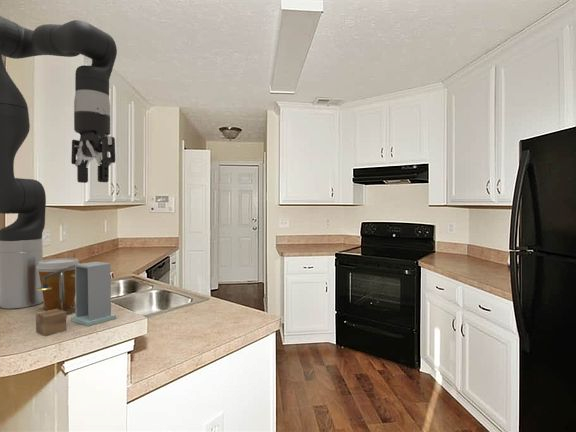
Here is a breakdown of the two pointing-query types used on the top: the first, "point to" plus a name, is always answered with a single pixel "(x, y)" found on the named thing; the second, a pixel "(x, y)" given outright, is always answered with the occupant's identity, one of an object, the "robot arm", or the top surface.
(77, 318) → the slab
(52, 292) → the disposable coffee cup
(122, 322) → the top surface
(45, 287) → the balance
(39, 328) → the block
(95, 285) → the cover
